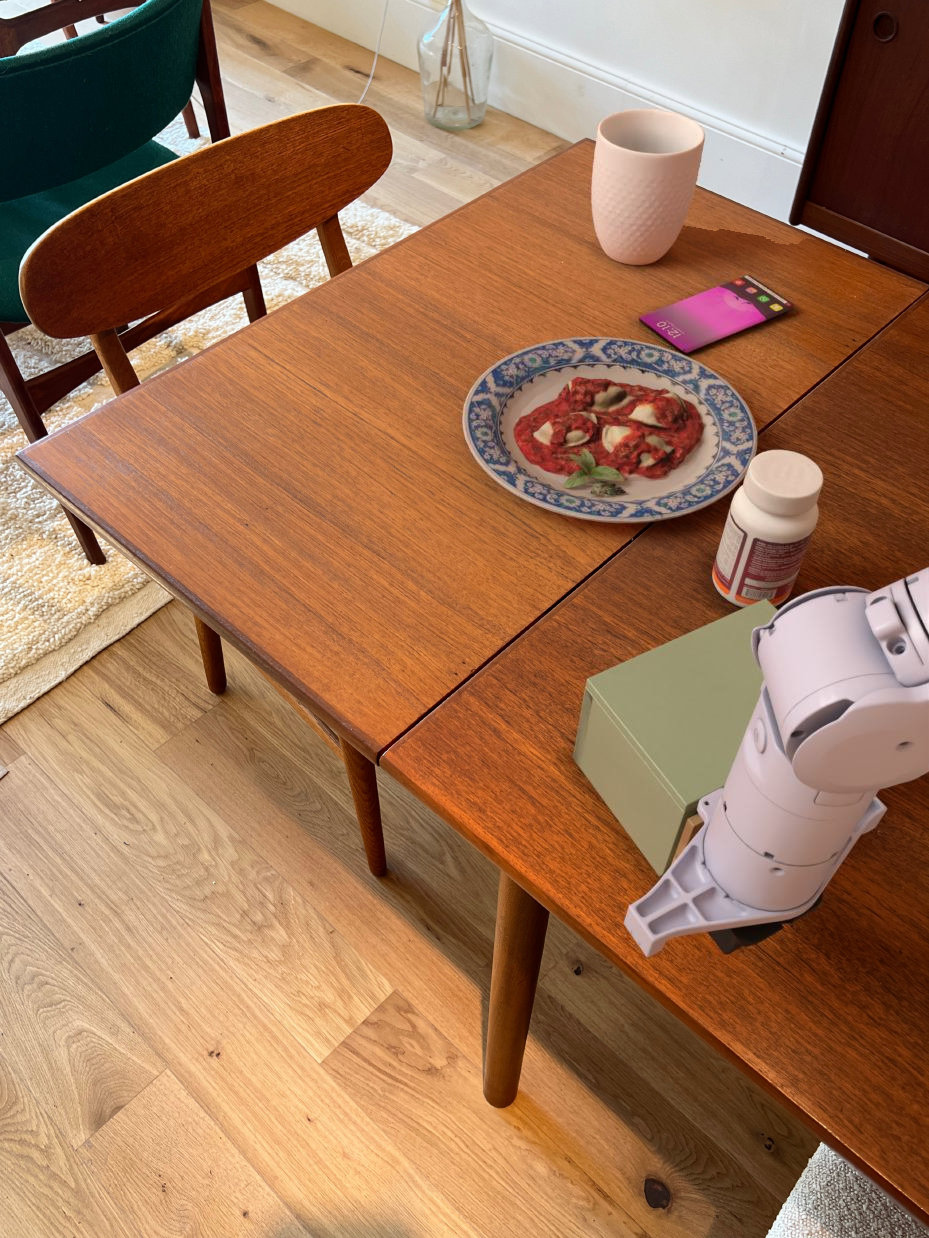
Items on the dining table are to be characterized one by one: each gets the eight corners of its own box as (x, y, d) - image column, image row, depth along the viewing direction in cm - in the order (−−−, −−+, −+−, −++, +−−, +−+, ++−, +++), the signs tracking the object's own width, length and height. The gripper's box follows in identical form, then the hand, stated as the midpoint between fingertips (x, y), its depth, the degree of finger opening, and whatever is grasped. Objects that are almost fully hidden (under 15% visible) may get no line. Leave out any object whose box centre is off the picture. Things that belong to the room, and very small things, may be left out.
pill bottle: (805, 584, 78) (850, 474, 69) (759, 625, 75) (799, 515, 66) (740, 544, 81) (775, 432, 72) (694, 582, 78) (724, 470, 69)
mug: (585, 207, 117) (597, 90, 108) (679, 213, 117) (700, 96, 107) (583, 273, 108) (596, 151, 98) (685, 280, 107) (709, 157, 97)
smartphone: (793, 313, 103) (796, 305, 102) (682, 356, 97) (684, 349, 97) (745, 281, 107) (747, 273, 106) (636, 321, 101) (637, 313, 101)
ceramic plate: (545, 327, 101) (548, 301, 98) (791, 410, 92) (800, 383, 90) (406, 470, 86) (405, 442, 84) (683, 584, 78) (690, 557, 75)
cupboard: (847, 802, 65) (893, 724, 58) (674, 898, 60) (702, 825, 54) (736, 679, 71) (766, 597, 65) (572, 758, 67) (586, 678, 60)
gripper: (845, 685, 50) (777, 822, 60) (603, 807, 45) (574, 933, 55) (953, 793, 45) (860, 920, 56) (699, 940, 41) (649, 1049, 51)
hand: (723, 934), depth 55 cm, fingers closed
